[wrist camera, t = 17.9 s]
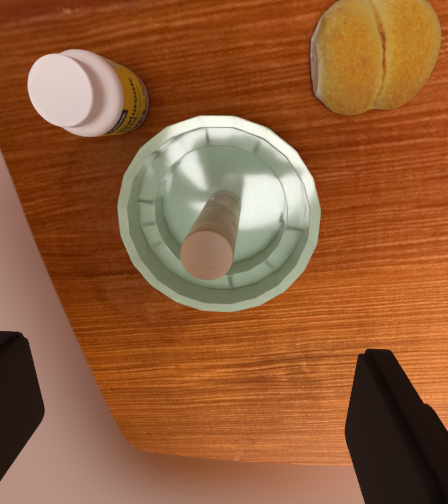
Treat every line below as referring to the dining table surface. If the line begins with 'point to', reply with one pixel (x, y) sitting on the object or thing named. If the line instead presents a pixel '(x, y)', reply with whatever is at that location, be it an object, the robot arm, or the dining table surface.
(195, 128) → the bowl
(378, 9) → the bread roll
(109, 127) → the supplement bottle
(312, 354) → the dining table surface
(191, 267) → the stirring stick
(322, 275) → the dining table surface
